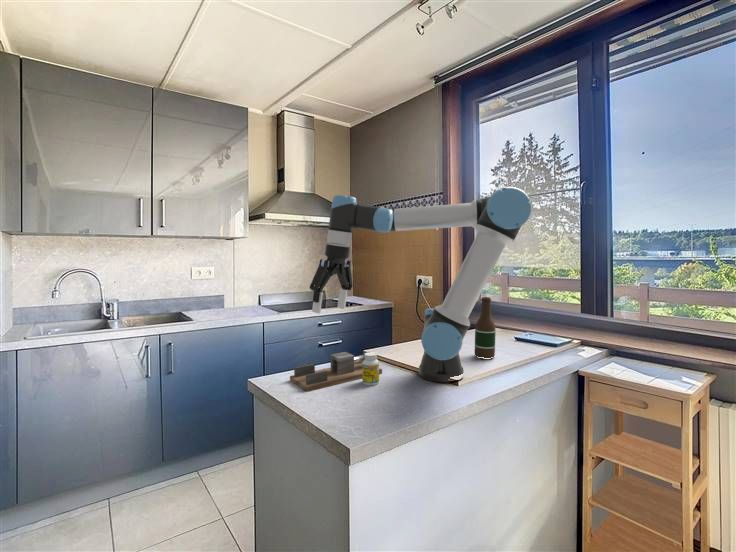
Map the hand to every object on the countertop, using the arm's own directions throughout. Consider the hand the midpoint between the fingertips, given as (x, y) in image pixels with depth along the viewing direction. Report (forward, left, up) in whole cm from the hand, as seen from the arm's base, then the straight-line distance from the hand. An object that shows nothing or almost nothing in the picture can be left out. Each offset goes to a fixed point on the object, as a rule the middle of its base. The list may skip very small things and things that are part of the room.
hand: (329, 310), depth 125 cm
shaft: (+2, -11, -21) cm, 24 cm away
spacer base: (+2, -4, -23) cm, 24 cm away
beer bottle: (-12, -64, -24) cm, 69 cm away
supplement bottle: (-9, -10, -24) cm, 27 cm away
